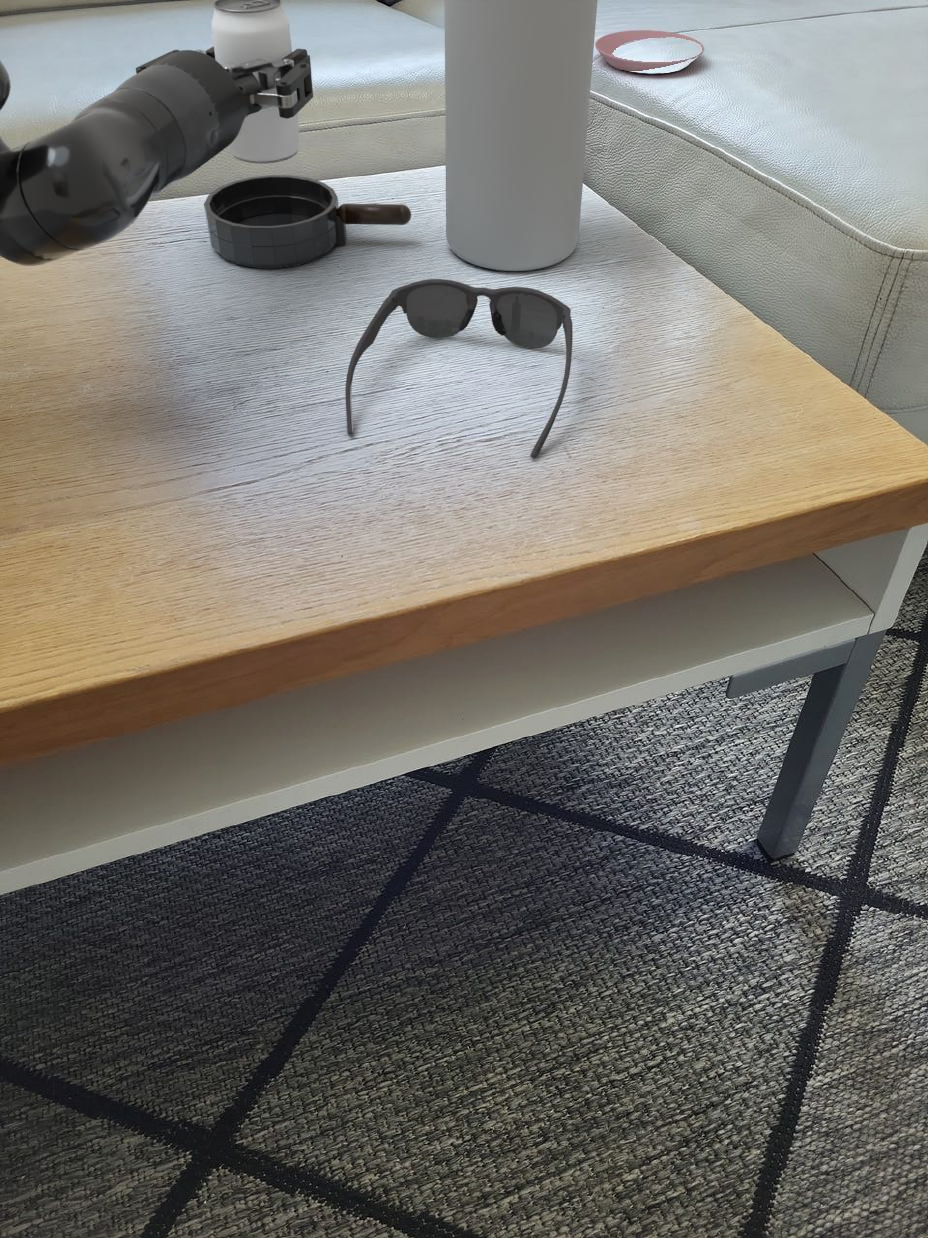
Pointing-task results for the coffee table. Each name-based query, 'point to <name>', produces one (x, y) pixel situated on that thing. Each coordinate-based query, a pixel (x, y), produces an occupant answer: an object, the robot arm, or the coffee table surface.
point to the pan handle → (370, 216)
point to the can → (256, 73)
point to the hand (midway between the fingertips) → (266, 57)
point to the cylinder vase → (516, 128)
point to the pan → (272, 220)
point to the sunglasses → (449, 311)
